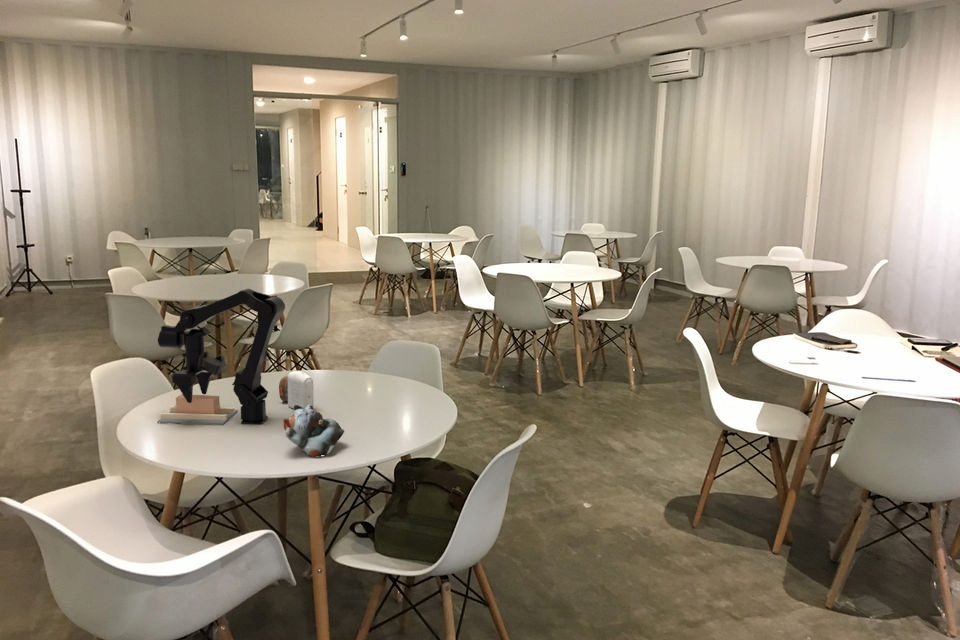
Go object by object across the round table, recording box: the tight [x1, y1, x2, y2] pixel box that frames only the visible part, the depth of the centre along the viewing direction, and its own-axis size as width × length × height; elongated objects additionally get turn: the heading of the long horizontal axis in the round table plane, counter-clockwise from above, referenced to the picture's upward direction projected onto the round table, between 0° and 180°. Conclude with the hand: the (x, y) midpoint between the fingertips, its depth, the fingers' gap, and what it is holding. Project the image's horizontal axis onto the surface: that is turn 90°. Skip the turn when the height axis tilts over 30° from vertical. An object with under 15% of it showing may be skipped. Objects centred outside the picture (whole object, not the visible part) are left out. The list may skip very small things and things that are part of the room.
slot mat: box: [157, 405, 239, 426], centre depth 236 cm, size 20×13×2 cm, turn 89°
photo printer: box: [287, 370, 314, 409], centre depth 245 cm, size 10×4×12 cm, turn 47°
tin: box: [278, 373, 289, 402], centre depth 257 cm, size 15×3×8 cm, turn 168°
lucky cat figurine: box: [282, 405, 345, 458], centre depth 209 cm, size 15×12×14 cm
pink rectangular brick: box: [175, 393, 221, 414], centre depth 235 cm, size 4×12×6 cm, turn 84°
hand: (197, 398), depth 235 cm, fingers open, 9 cm apart
